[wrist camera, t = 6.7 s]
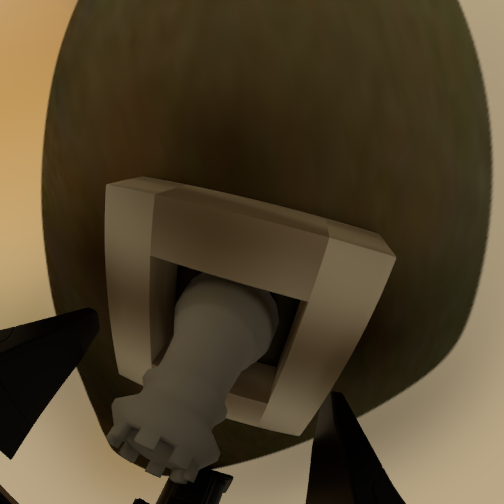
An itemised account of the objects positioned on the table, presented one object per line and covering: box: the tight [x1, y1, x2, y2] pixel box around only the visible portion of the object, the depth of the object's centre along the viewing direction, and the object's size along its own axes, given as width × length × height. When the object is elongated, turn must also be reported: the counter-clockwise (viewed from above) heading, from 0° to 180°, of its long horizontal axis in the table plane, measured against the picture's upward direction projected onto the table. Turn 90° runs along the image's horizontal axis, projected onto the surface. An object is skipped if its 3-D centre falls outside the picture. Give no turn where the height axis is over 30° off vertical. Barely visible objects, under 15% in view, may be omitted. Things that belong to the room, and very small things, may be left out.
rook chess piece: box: [106, 272, 279, 484], centre depth 9 cm, size 4×4×8 cm
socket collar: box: [105, 176, 397, 436], centre depth 11 cm, size 10×10×2 cm
